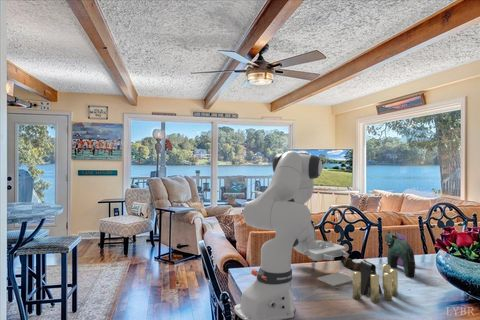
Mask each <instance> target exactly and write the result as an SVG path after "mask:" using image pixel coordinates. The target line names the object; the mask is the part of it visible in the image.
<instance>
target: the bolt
mask: <svg viewBox="0 0 480 320" xmlns="http://www.w3.org/2000/svg"><path fill="white" fill-rule="evenodd" d="M340 262H341V264H342V265H344V267H345V268H347V269H348V268H351V269H353V270H354V271H358V272H359V271H360V263H361V262H355V261H353V260H352V258H348V257H342V258H341V260H340Z"/></svg>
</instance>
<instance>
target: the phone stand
mask: <svg viewBox="0 0 480 320" xmlns="http://www.w3.org/2000/svg"><path fill="white" fill-rule="evenodd" d="M359 263H360V271H359V272H361V296H371V274H377V267H376V264H374V263H371V262H369V261H366V260H360V262H359ZM379 294H383V290H382V288H381V285H380V283H379Z"/></svg>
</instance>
